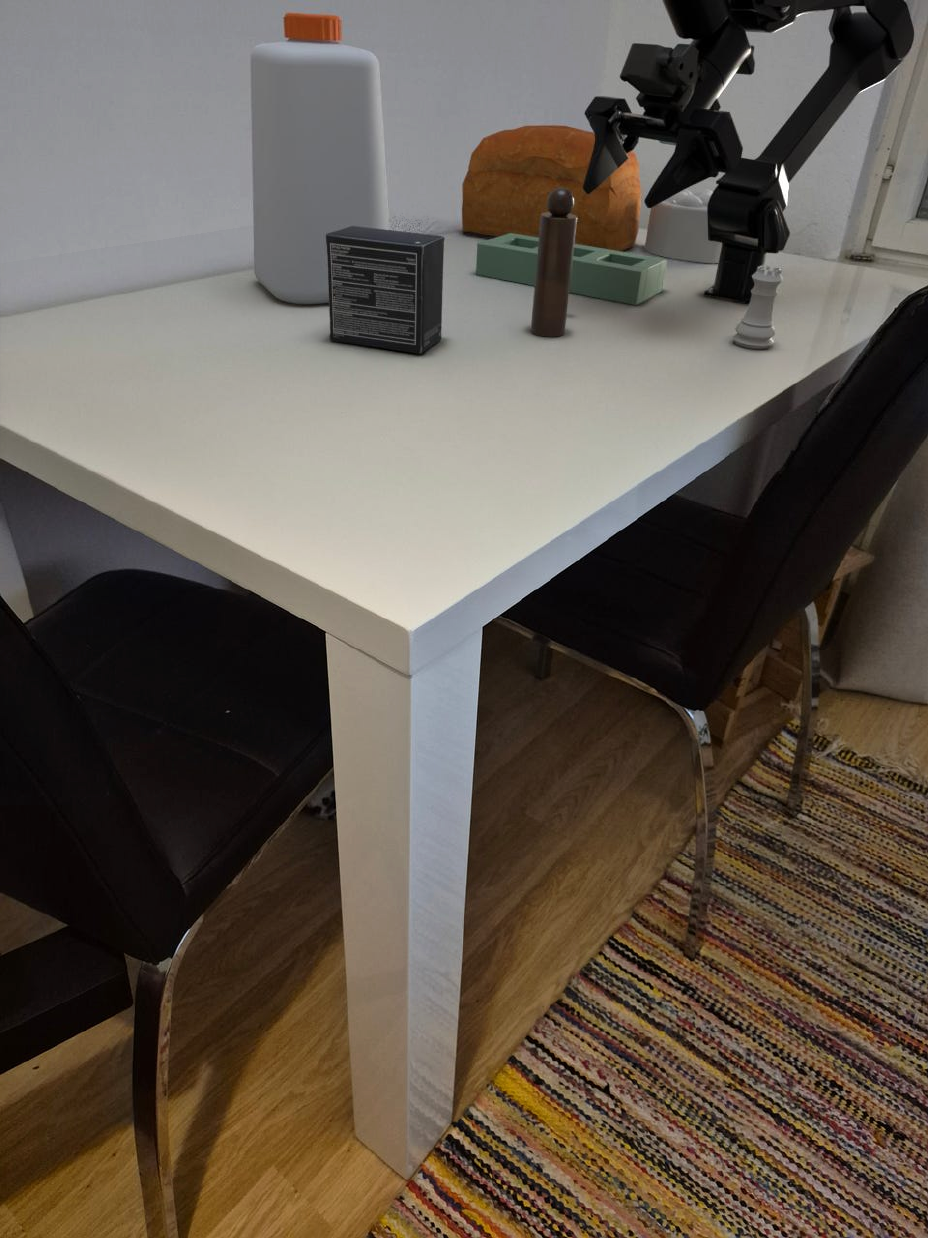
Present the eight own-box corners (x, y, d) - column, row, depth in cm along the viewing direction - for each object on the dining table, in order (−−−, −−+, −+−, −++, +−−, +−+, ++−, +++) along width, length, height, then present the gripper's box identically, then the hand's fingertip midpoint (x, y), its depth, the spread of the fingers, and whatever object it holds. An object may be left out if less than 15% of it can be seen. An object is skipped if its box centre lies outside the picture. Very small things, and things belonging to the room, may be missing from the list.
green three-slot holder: (508, 262, 124) (510, 232, 122) (662, 291, 115) (667, 259, 113) (475, 274, 118) (477, 242, 116) (636, 305, 108) (641, 271, 106)
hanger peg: (540, 324, 100) (553, 183, 91) (570, 331, 98) (586, 187, 90) (524, 332, 97) (536, 187, 89) (555, 339, 95) (570, 191, 87)
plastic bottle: (360, 270, 116) (355, 15, 101) (403, 300, 105) (405, 19, 90) (248, 277, 111) (224, 8, 95) (280, 309, 100) (260, 11, 84)
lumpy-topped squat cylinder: (718, 265, 129) (731, 201, 125) (634, 252, 134) (644, 190, 129) (735, 253, 137) (748, 192, 132) (656, 241, 142) (665, 182, 137)
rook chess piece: (775, 341, 98) (794, 267, 94) (769, 352, 95) (788, 275, 90) (735, 335, 100) (751, 261, 95) (728, 345, 96) (744, 269, 92)
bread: (496, 220, 151) (502, 114, 142) (643, 242, 141) (660, 130, 132) (450, 234, 139) (454, 120, 130) (608, 260, 129) (624, 138, 120)
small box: (444, 338, 93) (448, 233, 88) (422, 356, 88) (424, 245, 82) (354, 325, 96) (351, 222, 90) (327, 341, 91) (323, 232, 85)
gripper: (606, 7, 93) (522, 130, 94) (750, 12, 81) (651, 153, 82) (646, 91, 102) (568, 203, 103) (781, 107, 90) (691, 233, 91)
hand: (615, 197), depth 94 cm, fingers open, 9 cm apart
